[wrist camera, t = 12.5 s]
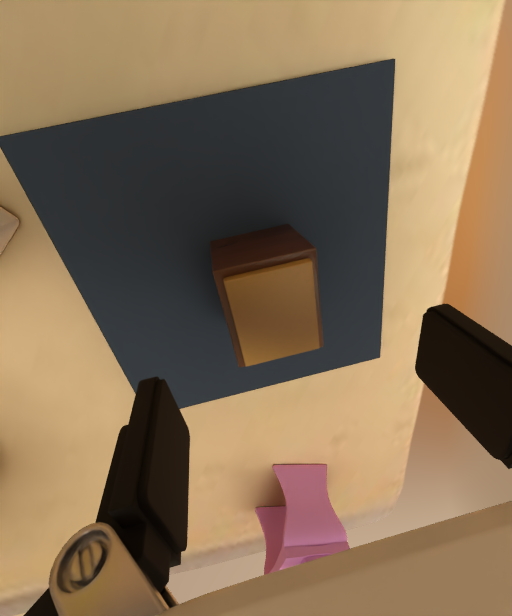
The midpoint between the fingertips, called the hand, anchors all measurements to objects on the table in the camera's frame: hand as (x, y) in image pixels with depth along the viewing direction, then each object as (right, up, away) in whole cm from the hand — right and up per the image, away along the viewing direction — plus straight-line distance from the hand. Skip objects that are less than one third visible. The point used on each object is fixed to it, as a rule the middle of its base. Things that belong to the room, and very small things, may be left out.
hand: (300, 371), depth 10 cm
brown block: (-1, +4, +9) cm, 10 cm away
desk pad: (-3, +4, +9) cm, 11 cm away
